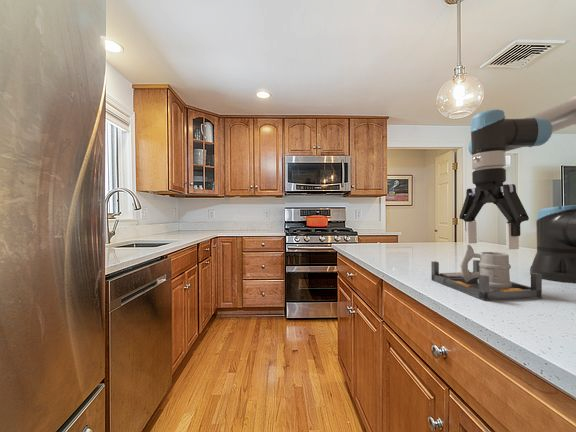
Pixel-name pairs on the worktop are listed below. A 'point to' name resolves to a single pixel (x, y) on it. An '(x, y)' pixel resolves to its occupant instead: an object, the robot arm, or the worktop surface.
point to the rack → (487, 285)
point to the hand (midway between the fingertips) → (490, 246)
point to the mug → (488, 268)
